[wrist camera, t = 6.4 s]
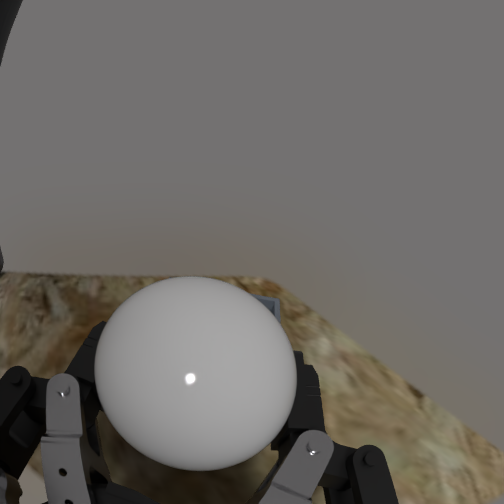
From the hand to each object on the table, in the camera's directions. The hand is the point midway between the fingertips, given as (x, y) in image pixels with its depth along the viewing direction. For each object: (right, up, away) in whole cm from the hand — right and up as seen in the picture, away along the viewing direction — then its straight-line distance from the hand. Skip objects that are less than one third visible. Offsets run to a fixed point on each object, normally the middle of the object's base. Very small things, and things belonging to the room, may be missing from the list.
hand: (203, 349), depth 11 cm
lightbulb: (-1, -7, +1) cm, 7 cm away
